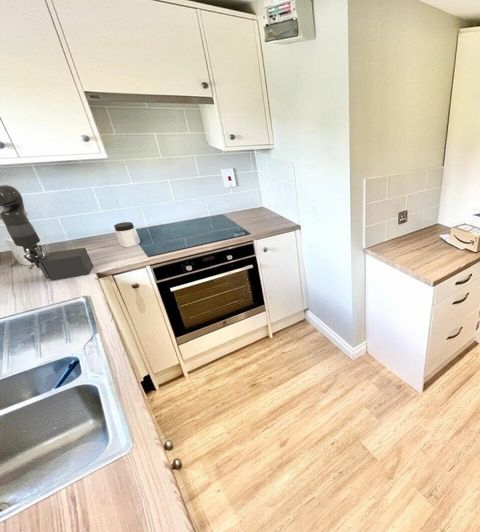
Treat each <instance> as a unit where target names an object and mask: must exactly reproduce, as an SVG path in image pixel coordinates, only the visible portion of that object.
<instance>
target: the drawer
mask: <svg viewBox="0 0 480 532" xmlns="http://www.w3.org/2000/svg"><path fill="white" fill-rule="evenodd" d="M46 256H47V255H45V256H44V257H43V259H44V258H45V257H46ZM43 259H42V260H41V261H40V262H39V263H38V265H39V268H37V266H36V264H35V263H33V264H30V265H28V266H27V267H26V269H25V272H26V273H30V272H31V271H37V270H39V269H41V273H42V274H43V276H44V277H45V280H51V278H50V276H49V274H48V273H47V271H46V269H45V267H44V265H43V263H42V261H43Z"/></svg>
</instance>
